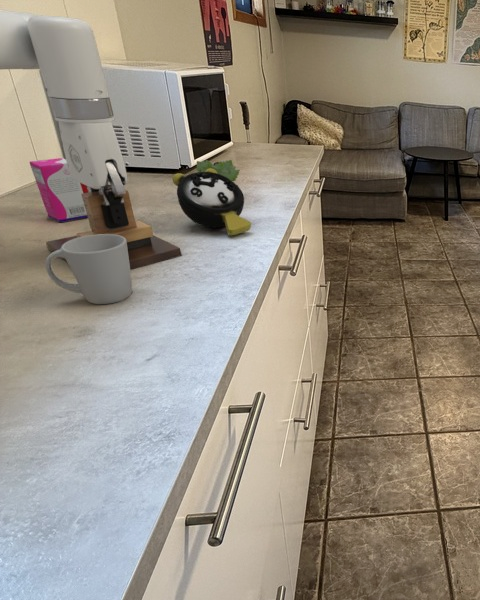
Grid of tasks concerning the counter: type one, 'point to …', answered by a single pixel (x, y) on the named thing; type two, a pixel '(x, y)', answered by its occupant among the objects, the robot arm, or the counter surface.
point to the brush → (133, 233)
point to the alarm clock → (211, 200)
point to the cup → (96, 267)
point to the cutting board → (135, 251)
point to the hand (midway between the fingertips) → (113, 223)
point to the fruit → (219, 168)
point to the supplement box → (59, 190)
